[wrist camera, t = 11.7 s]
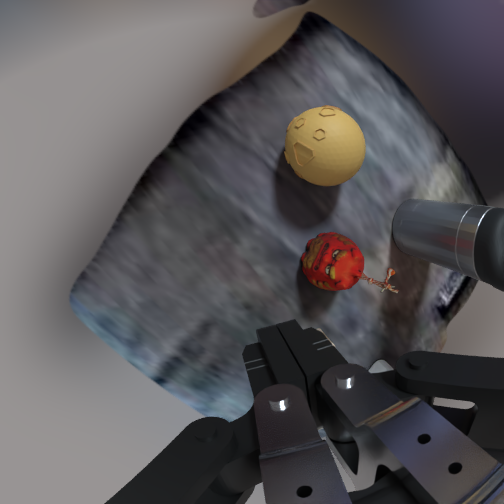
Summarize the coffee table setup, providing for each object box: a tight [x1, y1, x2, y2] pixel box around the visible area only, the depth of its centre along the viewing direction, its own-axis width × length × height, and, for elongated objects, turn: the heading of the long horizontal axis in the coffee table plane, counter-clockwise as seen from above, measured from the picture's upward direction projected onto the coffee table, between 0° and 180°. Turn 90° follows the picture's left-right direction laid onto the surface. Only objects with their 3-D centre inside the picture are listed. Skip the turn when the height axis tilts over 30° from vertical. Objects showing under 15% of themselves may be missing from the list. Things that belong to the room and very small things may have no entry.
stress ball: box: [284, 105, 365, 186], centre depth 34 cm, size 10×10×10 cm
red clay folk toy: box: [301, 232, 399, 293], centre depth 35 cm, size 8×7×15 cm
